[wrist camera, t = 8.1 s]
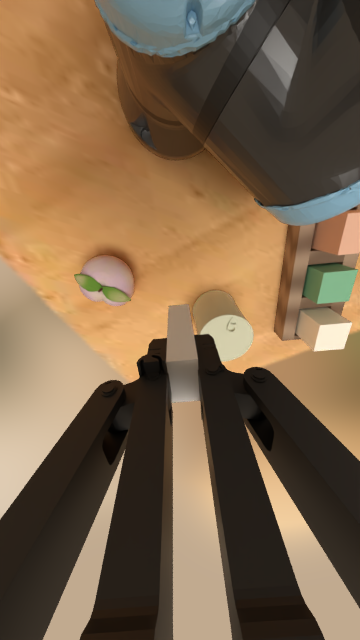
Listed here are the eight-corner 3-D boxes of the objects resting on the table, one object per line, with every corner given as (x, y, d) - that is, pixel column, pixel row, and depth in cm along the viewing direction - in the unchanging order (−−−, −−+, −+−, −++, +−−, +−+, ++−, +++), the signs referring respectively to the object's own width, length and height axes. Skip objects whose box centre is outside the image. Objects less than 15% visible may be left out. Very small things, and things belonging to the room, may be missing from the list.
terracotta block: (316, 213, 34) (348, 213, 28) (349, 209, 34) (389, 209, 28) (309, 247, 37) (337, 255, 30) (341, 244, 37) (375, 251, 30)
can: (241, 294, 44) (263, 321, 33) (228, 332, 48) (243, 367, 37) (198, 285, 42) (206, 311, 32) (188, 325, 47) (192, 359, 36)
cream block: (298, 308, 42) (320, 325, 36) (325, 306, 42) (352, 322, 36) (293, 331, 44) (313, 351, 38) (319, 329, 44) (343, 348, 38)
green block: (300, 263, 40) (323, 272, 34) (329, 260, 40) (358, 269, 34) (295, 290, 42) (316, 303, 36) (322, 287, 42) (348, 301, 36)
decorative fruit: (143, 258, 40) (135, 272, 31) (135, 297, 43) (125, 320, 34) (92, 243, 38) (68, 253, 29) (88, 285, 42) (65, 305, 33)
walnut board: (291, 206, 36) (303, 205, 33) (355, 199, 36) (375, 198, 33) (273, 331, 48) (282, 340, 44) (322, 326, 48) (334, 336, 44)
